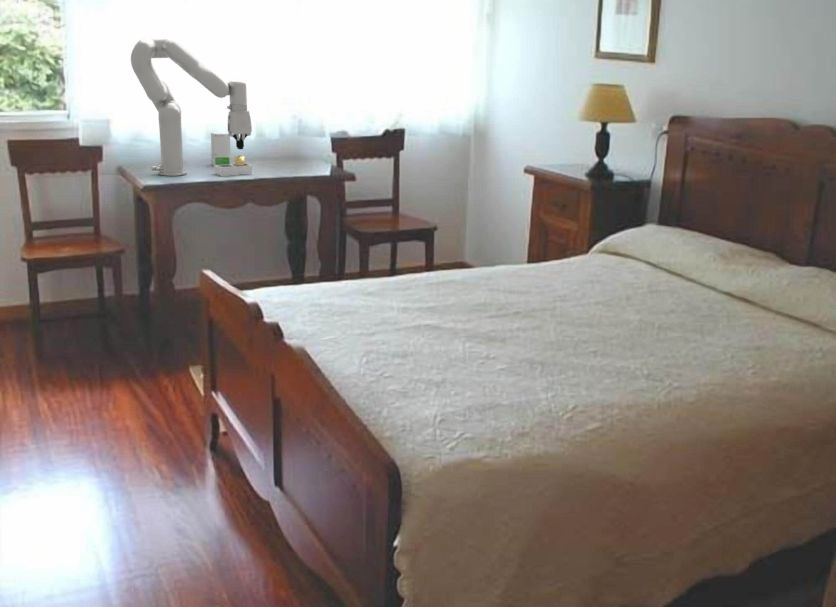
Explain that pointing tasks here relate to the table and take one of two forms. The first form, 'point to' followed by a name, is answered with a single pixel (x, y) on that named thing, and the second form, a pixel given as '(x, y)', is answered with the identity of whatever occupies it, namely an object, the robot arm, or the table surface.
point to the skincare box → (220, 148)
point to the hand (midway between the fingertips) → (240, 148)
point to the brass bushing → (239, 161)
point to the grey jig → (232, 169)
